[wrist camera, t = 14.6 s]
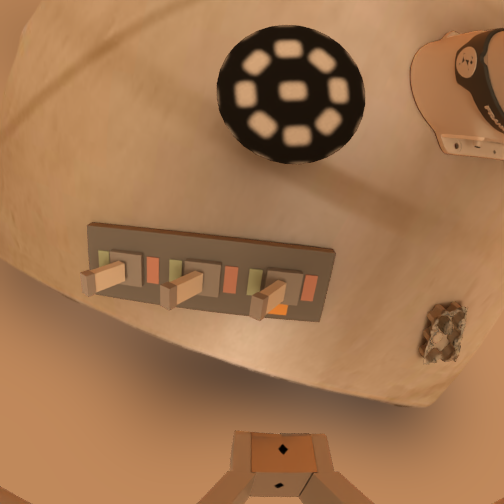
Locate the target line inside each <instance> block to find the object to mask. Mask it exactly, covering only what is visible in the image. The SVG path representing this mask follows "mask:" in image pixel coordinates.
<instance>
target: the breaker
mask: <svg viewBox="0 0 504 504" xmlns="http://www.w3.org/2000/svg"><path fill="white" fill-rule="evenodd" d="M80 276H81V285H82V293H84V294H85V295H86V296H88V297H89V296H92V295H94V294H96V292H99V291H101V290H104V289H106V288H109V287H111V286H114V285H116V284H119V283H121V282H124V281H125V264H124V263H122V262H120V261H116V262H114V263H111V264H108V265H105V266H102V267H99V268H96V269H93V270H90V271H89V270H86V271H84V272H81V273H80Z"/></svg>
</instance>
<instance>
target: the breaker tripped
mask: <svg viewBox="0 0 504 504" xmlns="http://www.w3.org/2000/svg"><path fill="white" fill-rule="evenodd" d="M286 284H287V283H286V282H283V281H280V280H277V281H275V282H274V283H272V284H271V285H269V286H268V287H266V288H265V289H263V290H262V291H260V292H257V293H255V294H253V295H252V298H251V305H250V313H249V317H252V318H254V319H256V320H259V321H261V320H262V319H263V318H264V317H265V316H266V314H267V313H269V312H270V311H271V310H272V309H274V308H275V307H276V306H277V305H278V304H280V303H281V302H282V301H283V300H284V295H285V289H286Z"/></svg>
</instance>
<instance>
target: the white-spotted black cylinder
mask: <svg viewBox="0 0 504 504" xmlns="http://www.w3.org/2000/svg"><path fill="white" fill-rule="evenodd" d="M217 101H218V106H219V111H220V113H221V116H222V118H223V120H224V123H225V125H226V126H227V127H228V129H229V130H230V132H231V133H232V135H233V136H234V137H235V138H236V139H237V140H238V141H239V142H240V143H241V144H242V145H243V146H244V147H246V148H247V149H249V150H250V151H252V152H253V153H255V154H256V155H258V156H261V157H263V158H266V159H268V160H270V161H275V162H279V163H284V164H304V163H311V162H315V161H318V160H321V159H324V158H326V157H328V156H330V155H332V154H333V153H335V152H337V151H338V150H340V149H341V148H342V147H343V146H344V145H345V144H346V143H347V142H348V141H349V140H350V139H351V138H352V136H353V135H354V133H355V132H356V131H357V129H358V126H359V124H360V122H361V120H362V117H363V112H364V107H365V89H364V84H363V80H362V77H361V74H360V72H359V69H358V67H357V65H356V64H355V62H354V61H353V59H352V58H351V56H350V55H349V53H348V52H347V51H346V50H345V49H344V48H343V47H342V46H341V45H340V44H339V43H337V42H336V41H334V40H333V39H331V38H330V37H329V36H327V35H325V34H323V33H321V32H318V31H316V30H314V29H310V28H306V27H302V26H294V25H280V26H272V27H268V28H265V29H262V30H259V31H256V32H254V33H253V34H251V35H249V36H247V37H245V38H244V39H243V40H242V41H240V42H239V43H238V44H237V45H236V46H235V47H234V48H233V49H232V50H231V52H230V53H229V54H228V56H227V57H226V59H225V61H224V63H223V65H222V67H221V69H220V72H219V77H218V81H217Z"/></svg>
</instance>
